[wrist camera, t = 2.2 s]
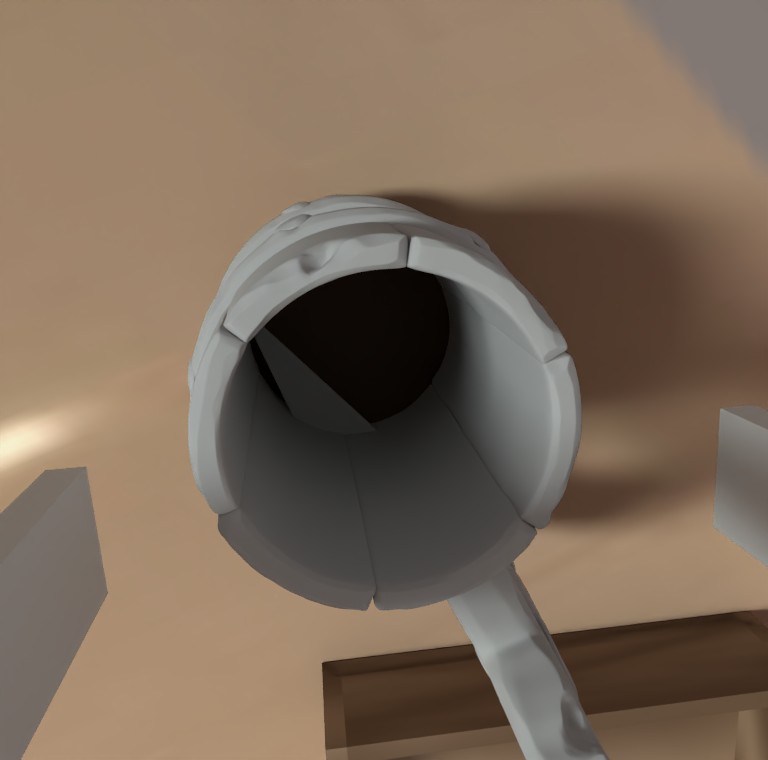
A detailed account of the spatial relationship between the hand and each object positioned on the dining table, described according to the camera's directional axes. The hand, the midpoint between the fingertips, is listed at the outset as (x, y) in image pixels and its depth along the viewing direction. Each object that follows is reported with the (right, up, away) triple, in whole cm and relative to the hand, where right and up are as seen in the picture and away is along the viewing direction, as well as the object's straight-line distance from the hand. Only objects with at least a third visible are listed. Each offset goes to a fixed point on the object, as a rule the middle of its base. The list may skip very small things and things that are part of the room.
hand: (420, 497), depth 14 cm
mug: (-1, +2, +7) cm, 7 cm away
